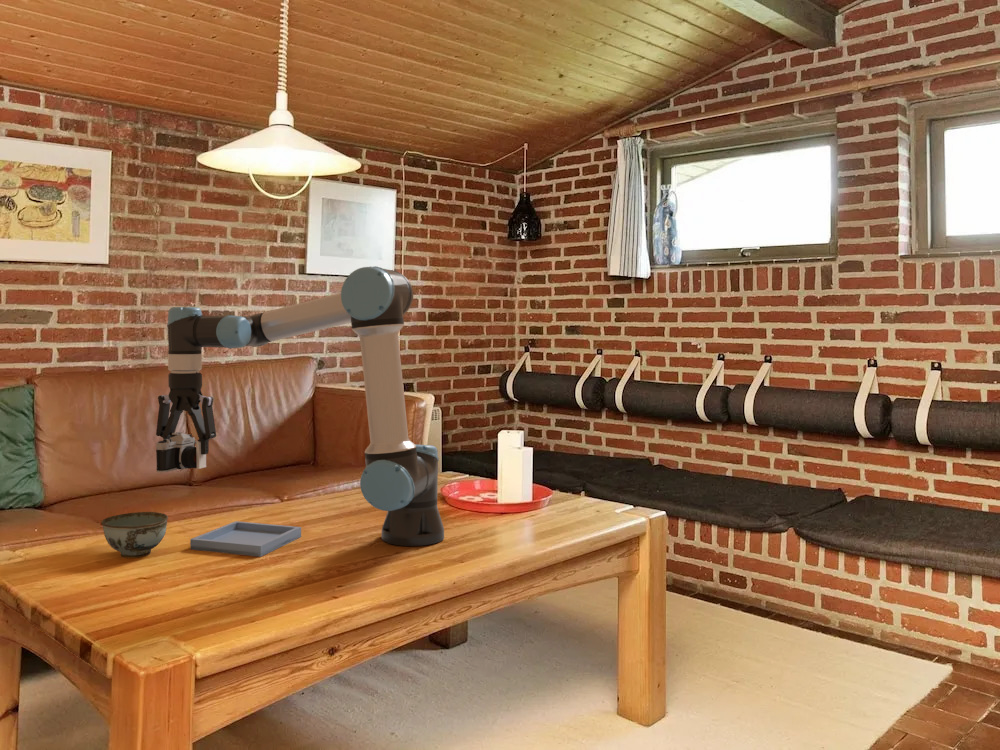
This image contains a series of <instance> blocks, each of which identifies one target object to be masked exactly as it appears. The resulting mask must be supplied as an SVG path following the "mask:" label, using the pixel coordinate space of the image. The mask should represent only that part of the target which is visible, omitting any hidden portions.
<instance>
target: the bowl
mask: <svg viewBox="0 0 1000 750" xmlns="http://www.w3.org/2000/svg"><path fill="white" fill-rule="evenodd" d="M168 519H169V516H168V515H167V514H165V513H164V512H163V513H162V512H158V511H157V512H156V511H137V512H128V513H122V514H117V515H112V516H108V517H105V518H104V519H102V520H101V521H100V523H101V526H102V529H103V534H104V537H105V541H106V542H107V544H108V545H109V546H110V547H111V548H112V549H113V550H115V551H117V552H120V556H121V557H122V558H127V559H128V558H130V559H133V558H141V557H142V558H143V557H146V556H149V555H150V554H151V553H152V550H153V549H155V547H157V546H158V545H159V544H160V543H161V542H162V540H163V538H165V535H166V531H167V525H168Z"/></svg>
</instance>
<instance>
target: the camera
mask: <svg viewBox="0 0 1000 750" xmlns="http://www.w3.org/2000/svg"><path fill="white" fill-rule="evenodd" d="M195 438H196V437H194V436H192V434H189V433H188V434H187V433H185V432H184V433H182V432H181V431H180V432H178V431H175V433H172V436H171V438H170V439H163V438H162V440H160V441H157V443H155V447H156V449H155V452H156V473H160V474H161V473H162V474H163V473H169V472H173V471H176V470H186V469H189V470H190V469H197V461H196V441H198V439H195Z"/></svg>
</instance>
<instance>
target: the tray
mask: <svg viewBox="0 0 1000 750" xmlns="http://www.w3.org/2000/svg"><path fill="white" fill-rule="evenodd" d="M301 537H302V527H301V526H292V525H281V524H273V523H272V524H271V523H270V524H269V523H260V522H248V521H239V520H236V521H233V522H230V523H228V524H225V525H223V526H220V527H217V528H215V529H213V530H210V531H208V532H205V533H202V534H199V535H197V536H195V537H193V538H190V539H189V540H190V544H189V545H190V546H189V547H190V550H191V551H192V550H193V551H199V552H200V551H201V552H210V553H211V552H212V553H219V554H220V553H221V554H230V555H231V554H232V555H241V556H250V557H260V558H261V557H263V556H265V555H267V554H269V553H271V552H273V551H275V550H277V549H279V548H281V547H284V546H286V545H288V544H290V543H292V542H294V541H297V540H298V539H300V538H301Z"/></svg>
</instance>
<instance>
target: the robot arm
mask: <svg viewBox="0 0 1000 750" xmlns="http://www.w3.org/2000/svg"><path fill="white" fill-rule="evenodd" d="M413 301H414V290H413V286H412V284H411V282H410V281H409V279H408V278H407V277H406V276H405V275H404V274H403V273H401V272H399V271H397V270H391V269H386V268H383V267H379V266H363V267H359V268H356V269H355V270H354V271H352V272H350V273H349V275H347V276H346V279H344V282H343V284H342V286H341V290H340V293H336V294H331V295H328V296H323V297H319V298H315V299H312V300H308V301H304V302H300V303H295V304H291V305H288V306H284V307H280V308H276V309H272V310H269V311H264V312H259V313H256V314H253V315H247V316H246V315H240V316H238V315H231V314H230V315H229V314H228V315H203V313H202V309H201V308H200V307H198V306H197V307H194V306H172V307H170V308H169V309H168V313H167V324H166V328H167V337H168V338H167V340H168V341H167V343H168V348H167V349H168V351H167V370H168V371H170V372H168V373H169V374H168V381H167V382H168V388H169V393H168V394H161V395H158V397H157V400H158V414H157V421H156V429H155V431H156V432H155V435H156V436H157V437H161V438H162V440H163V439H170V438H171V436H172V433H175V432H176V430H177V427H178V424H179V420H180V418H181V415H182V413H184V411H185V412H187V414H188V415H189V416H190V418H191V421H192V423H193V426H194V429H195V432H196V434H197V437H198V439H197V441H195V442H196V444H195V447H196V461H197V468H196V469H198V470H199V469H203V468H207V454H209V451H210V450H209V448H210V447H209V446H210V445H209V444H210V440H212V439H214V438H216V437H217V430H216V424H215V418H214V410H213V403H214V396H205V395H203V393H202V391H201V390H202V388H203V374H202V372H200V371H201V370H203V366H202V365H203V364H202V363H203V359H202V357H203V354H202V353H203V351H202V350H203V348H216V349H217V348H222V349H223V348H224V349H226V348H227V349H231V350H232V349H240V348H241V349H242V348H244V347H253V348H255V347H256V348H257V347H262V346H264V345H267V344H269V343H271V342H275V341H280V340H284V339H288V338H292V337H296V336H300V335H304V334H308V333H313V332H316V331H317V332H318V331H322V330H325V329H330V328H335V327H338V326H342V325H346V324H350V323H351V324H350V325H351V331H352V332H354V333H355V334H356V335H357V336H358V337H359V345H360V352H361V362H362V374H363V383H364V393H365V401H366V412H367V421H368V431H369V432H368V433H369V441H370V443H369V445H368V446H367V447H366V448H365V450H364V460H365V461H364V462H365V468H364V469H363V470H362V473H361V476H360V480H359V485H360V491H361V494H362V495H363V497H364V500H365V501H366V502H367V503H369V505H371V506H372V507H374V509H378V510H380V511H385V512H386V515H385V518H384V522H383V525H382V527H381V540H382V541H383V542H384V543H386V544H389V545H395V546H405V547H419V546H420V547H421V546H429V545H434V544H437V543H440V542H442V541H443V540H444V539H445V528H444V525H443V521H442V517H441V515H440V510H439V507H438V488H439V487H438V480H439V479H438V478H439V477H438V476H439V474H438V472H439V471H438V469H439V459H440V458H439V454H438V449H437V447H436V446H434V445H431V444H430V445H429V444H419V443H418V444H415V443H414V442H413V441H412V440H410V438H409V431H408V421H407V420H408V419H407V410H406V400H405V389H404V380H403V369H402V360H401V350H400V349H401V348H400V341H399V340H400V339H399V333H400V331H401V330H402V329H403V328H404V326H405V322H404V315H405V314H407V312H408V311H409V310H410V308H412V307H411V306H412V305H413ZM200 405H201V406H200Z"/></svg>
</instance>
